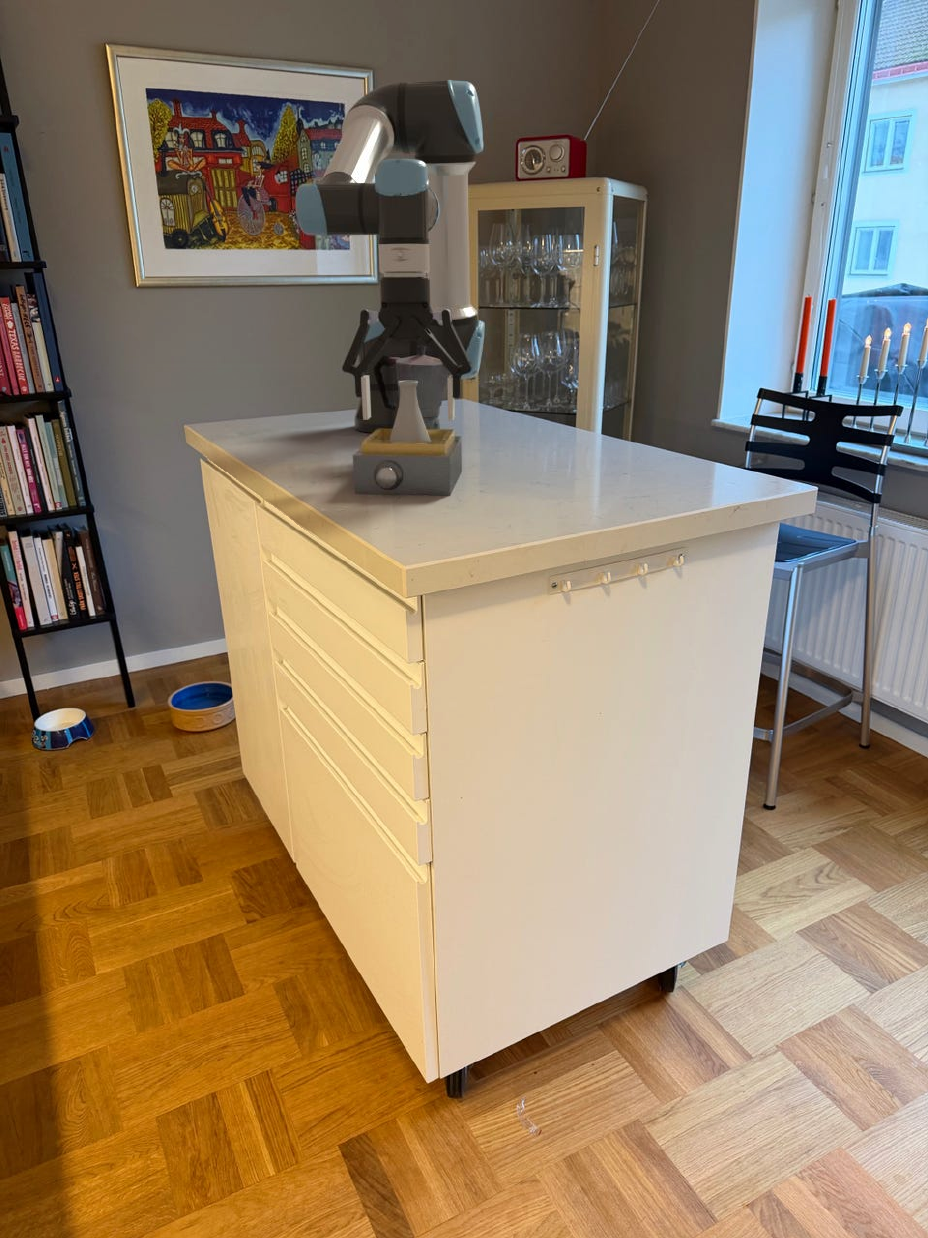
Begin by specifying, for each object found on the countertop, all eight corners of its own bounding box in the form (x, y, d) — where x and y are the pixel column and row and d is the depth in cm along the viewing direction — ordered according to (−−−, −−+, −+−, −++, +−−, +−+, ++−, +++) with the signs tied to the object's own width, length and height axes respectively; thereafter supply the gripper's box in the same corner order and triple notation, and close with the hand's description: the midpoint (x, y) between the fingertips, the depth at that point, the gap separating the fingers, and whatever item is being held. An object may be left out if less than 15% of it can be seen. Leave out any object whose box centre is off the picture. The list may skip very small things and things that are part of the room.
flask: (382, 442, 141) (379, 380, 138) (424, 439, 144) (422, 377, 140) (394, 450, 135) (392, 385, 131) (438, 447, 137) (437, 382, 134)
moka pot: (451, 465, 153) (450, 347, 146) (368, 462, 156) (363, 346, 149) (462, 454, 162) (461, 343, 155) (383, 451, 165) (379, 342, 157)
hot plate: (376, 469, 150) (374, 426, 147) (461, 471, 149) (461, 427, 146) (351, 497, 132) (348, 448, 129) (448, 499, 131) (447, 449, 128)
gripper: (317, 276, 127) (326, 421, 135) (485, 275, 125) (485, 423, 133) (329, 275, 134) (338, 414, 142) (489, 274, 132) (488, 415, 140)
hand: (409, 418), depth 138 cm, fingers open, 13 cm apart
